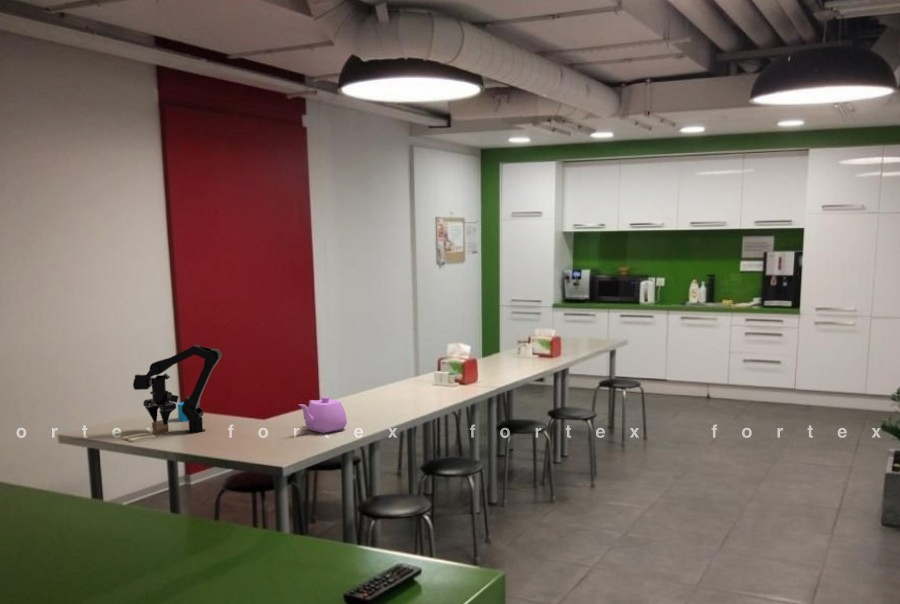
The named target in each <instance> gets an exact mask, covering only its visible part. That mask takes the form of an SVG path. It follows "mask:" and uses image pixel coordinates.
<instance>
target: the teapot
mask: <svg viewBox="0 0 900 604" xmlns="http://www.w3.org/2000/svg"><path fill="white" fill-rule="evenodd" d="M320 398H321V399H318V400H317V399H316V400H314V399H310V400H309V401H308V407H307V405H306V404H302V403H301V404H298V406H300V407H301V408H302V413H303V414H302V415H303V419H304V420H305V421H304V423H305V425H306V427H307V429H308V430H311V431H312V432H319V433H322V434H326V432H327V433H330V432H335V431H340V430H343V429H345V427H346V426H347V423H348V421H347V420H348V419H347V415H346V411H345V408H344V406H343V404H342V402H341V401H339V400H337V399H331V398H330V396H328V395H327V396H321V397H320Z"/></svg>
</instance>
